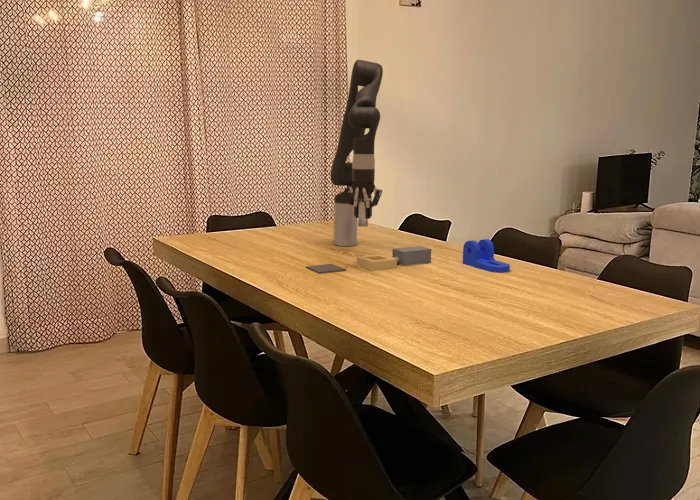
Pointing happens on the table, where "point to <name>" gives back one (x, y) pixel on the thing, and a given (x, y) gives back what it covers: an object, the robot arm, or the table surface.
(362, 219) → the square capped bottle
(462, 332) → the table surface
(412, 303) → the table surface
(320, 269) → the mat
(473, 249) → the bracket
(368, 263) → the tray with grey block
